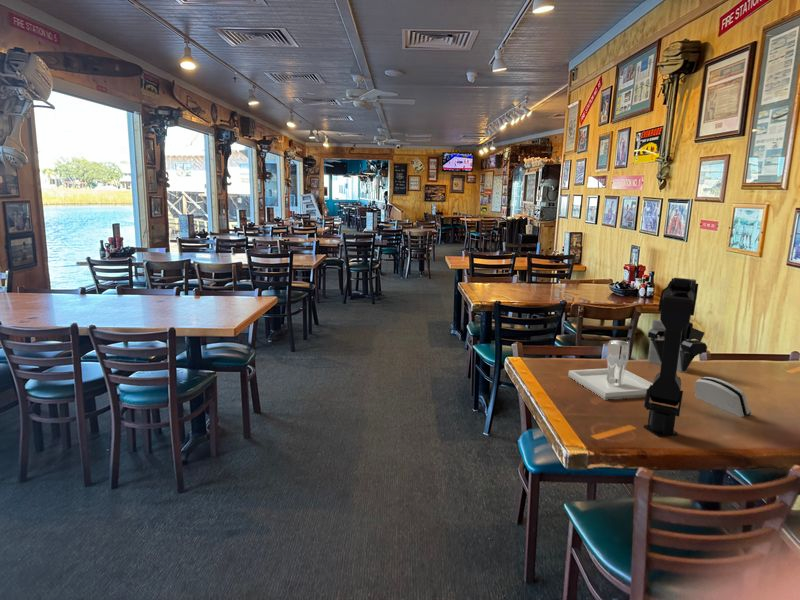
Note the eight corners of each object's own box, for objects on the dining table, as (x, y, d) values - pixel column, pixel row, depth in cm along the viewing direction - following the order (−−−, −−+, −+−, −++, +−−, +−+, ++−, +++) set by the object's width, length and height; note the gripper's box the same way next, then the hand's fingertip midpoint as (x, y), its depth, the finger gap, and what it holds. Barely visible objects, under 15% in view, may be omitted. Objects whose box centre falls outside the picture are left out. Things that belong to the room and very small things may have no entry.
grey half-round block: (753, 415, 157) (750, 387, 154) (741, 422, 156) (738, 394, 153) (705, 395, 172) (702, 369, 169) (695, 401, 171) (691, 375, 168)
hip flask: (645, 361, 208) (651, 313, 204) (652, 359, 210) (658, 312, 206) (683, 373, 194) (690, 322, 190) (689, 371, 196) (697, 321, 192)
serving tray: (662, 395, 171) (663, 388, 170) (604, 400, 166) (605, 392, 165) (620, 373, 192) (621, 367, 191) (568, 377, 187) (568, 370, 186)
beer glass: (599, 381, 180) (603, 340, 177) (615, 379, 183) (619, 339, 180) (613, 388, 174) (618, 346, 171) (629, 386, 176) (634, 344, 173)
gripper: (725, 325, 150) (718, 375, 154) (678, 311, 168) (672, 356, 171) (694, 326, 148) (687, 377, 151) (649, 312, 166) (644, 357, 169)
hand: (672, 366), depth 161 cm, fingers open, 9 cm apart
